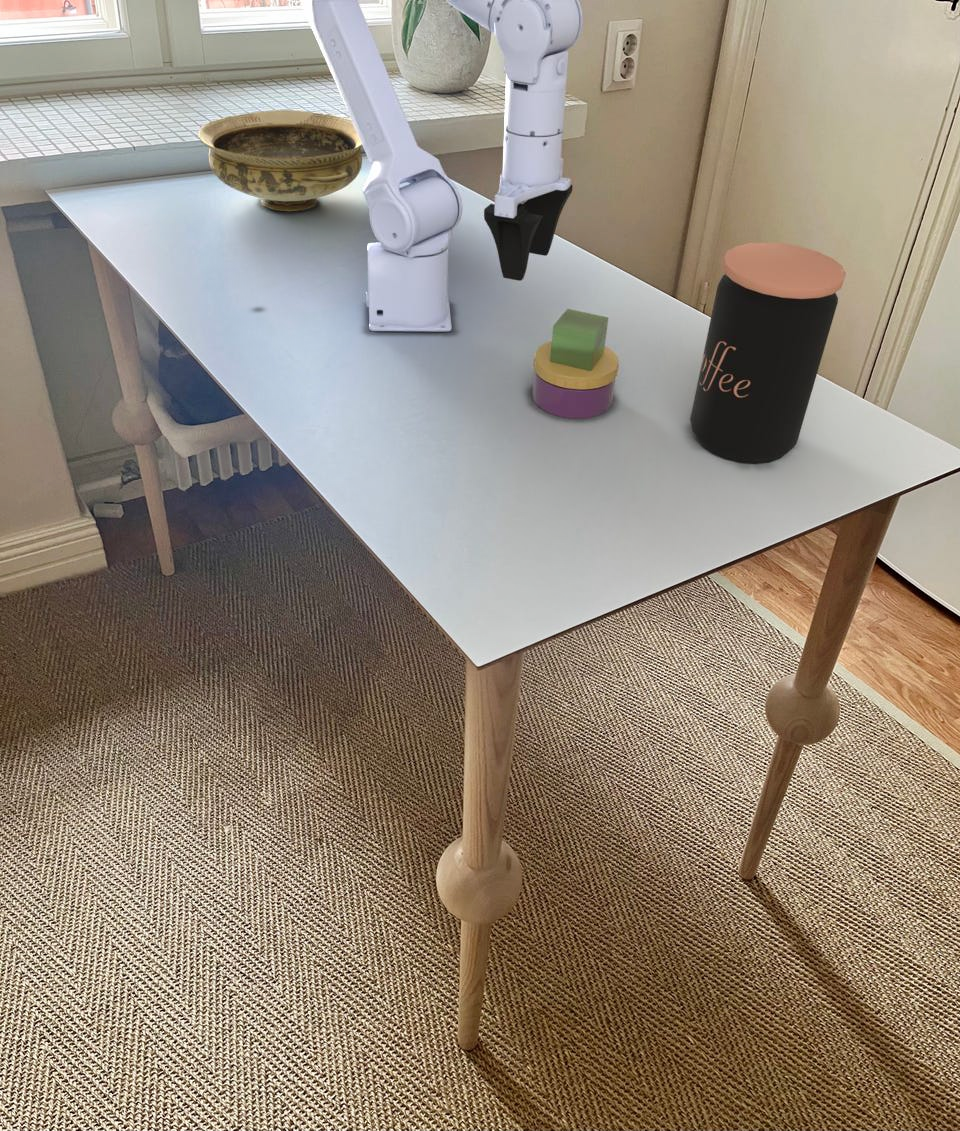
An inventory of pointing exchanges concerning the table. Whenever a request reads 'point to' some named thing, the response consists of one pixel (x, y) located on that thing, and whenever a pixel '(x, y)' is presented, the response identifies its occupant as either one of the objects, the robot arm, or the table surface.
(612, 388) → the jar
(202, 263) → the table surface
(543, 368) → the lid
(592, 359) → the block
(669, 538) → the table surface
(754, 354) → the coffee jar
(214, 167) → the ceramic bowl
